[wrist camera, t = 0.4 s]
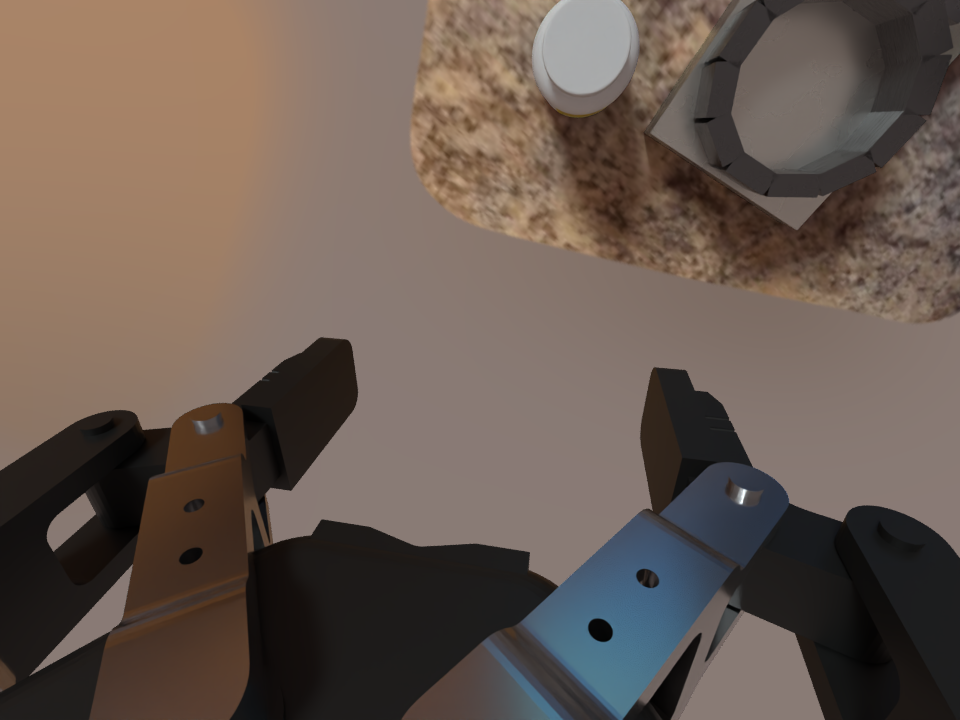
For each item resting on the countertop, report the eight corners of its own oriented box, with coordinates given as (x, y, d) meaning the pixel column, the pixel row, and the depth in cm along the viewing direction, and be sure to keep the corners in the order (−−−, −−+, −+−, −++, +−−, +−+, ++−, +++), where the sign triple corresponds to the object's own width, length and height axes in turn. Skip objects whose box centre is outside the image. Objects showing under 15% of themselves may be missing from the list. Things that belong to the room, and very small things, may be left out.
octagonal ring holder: (818, -130, 24) (887, -201, 19) (982, -8, 25) (1090, -43, 20) (643, 132, 31) (658, 133, 25) (778, 221, 32) (819, 240, 26)
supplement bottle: (645, 65, 29) (675, 39, 21) (579, 136, 32) (581, 140, 23) (585, -5, 28) (590, -62, 20) (522, 74, 31) (501, 54, 22)
